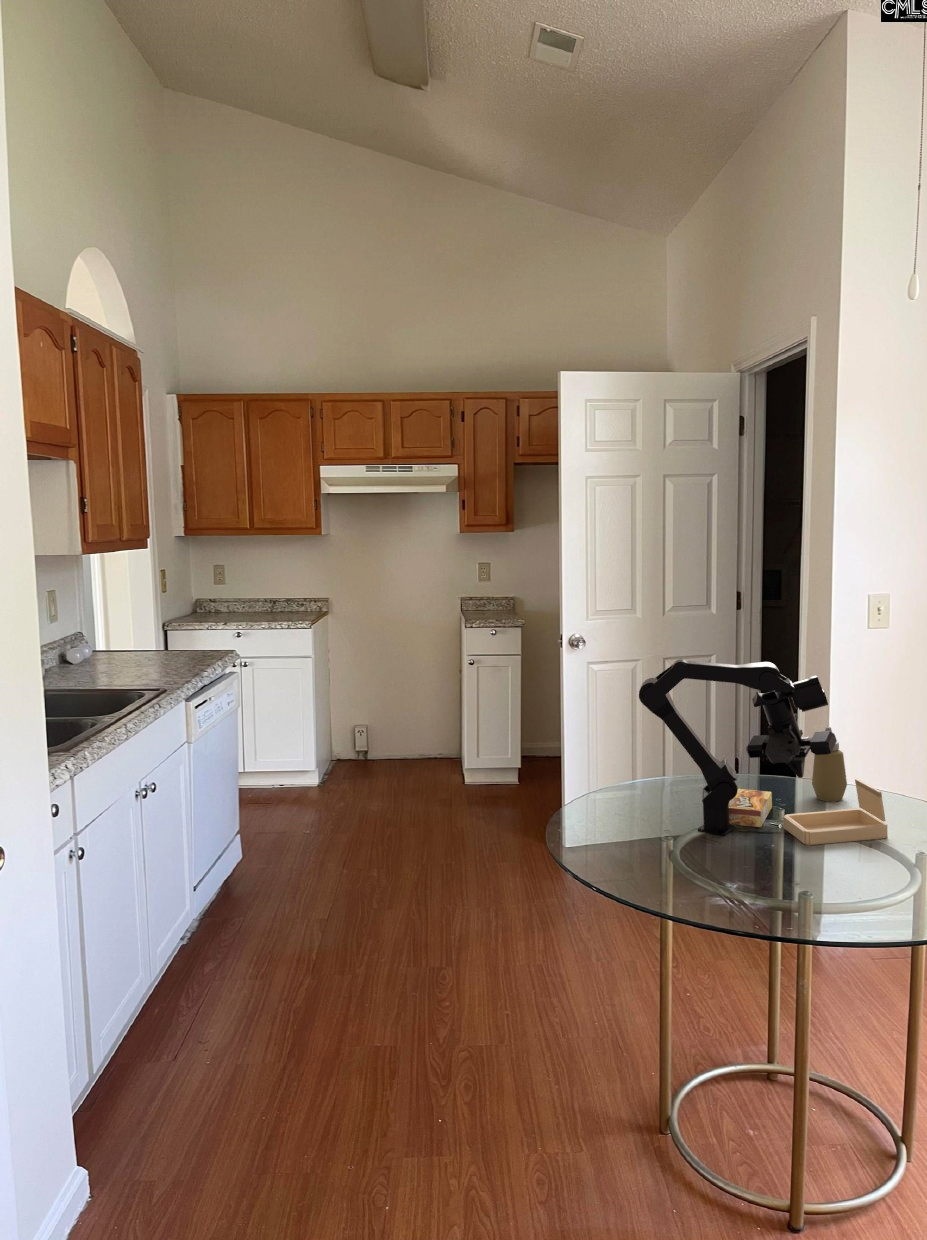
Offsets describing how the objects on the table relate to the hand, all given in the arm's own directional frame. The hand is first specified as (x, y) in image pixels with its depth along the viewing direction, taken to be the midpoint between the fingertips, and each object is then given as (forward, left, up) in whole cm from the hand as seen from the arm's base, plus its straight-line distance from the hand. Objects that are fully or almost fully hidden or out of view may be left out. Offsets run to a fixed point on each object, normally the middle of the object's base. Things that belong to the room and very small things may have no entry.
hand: (801, 776), depth 197 cm
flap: (+6, -13, -8) cm, 17 cm away
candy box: (+8, +15, -9) cm, 20 cm away
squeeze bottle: (+22, +1, -12) cm, 25 cm away
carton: (-1, -7, -12) cm, 14 cm away
